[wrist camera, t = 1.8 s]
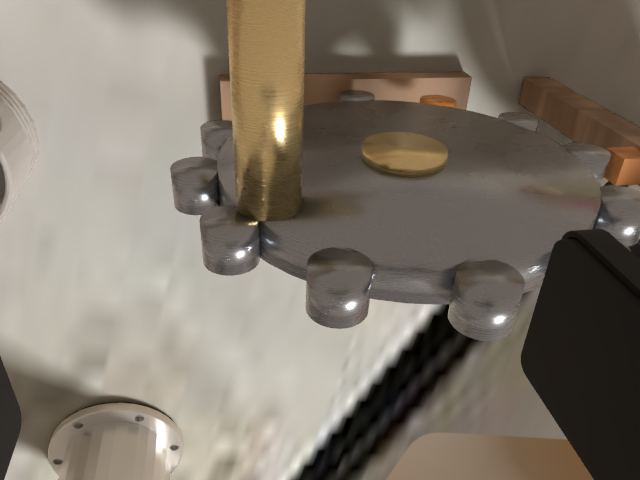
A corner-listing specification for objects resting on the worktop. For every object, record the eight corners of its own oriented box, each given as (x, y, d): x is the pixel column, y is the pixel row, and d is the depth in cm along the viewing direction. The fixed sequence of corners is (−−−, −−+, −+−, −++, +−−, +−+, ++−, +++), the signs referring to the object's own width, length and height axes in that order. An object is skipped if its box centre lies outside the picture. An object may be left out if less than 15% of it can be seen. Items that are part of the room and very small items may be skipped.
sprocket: (181, 122, 38) (159, 374, 18) (163, -63, 32) (102, 18, 12) (504, 113, 42) (769, 313, 22) (540, -53, 36) (942, 20, 16)
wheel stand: (225, 179, 43) (235, 301, 30) (219, 75, 39) (227, 166, 26) (525, 166, 47) (644, 268, 35) (549, 70, 43) (694, 147, 30)
